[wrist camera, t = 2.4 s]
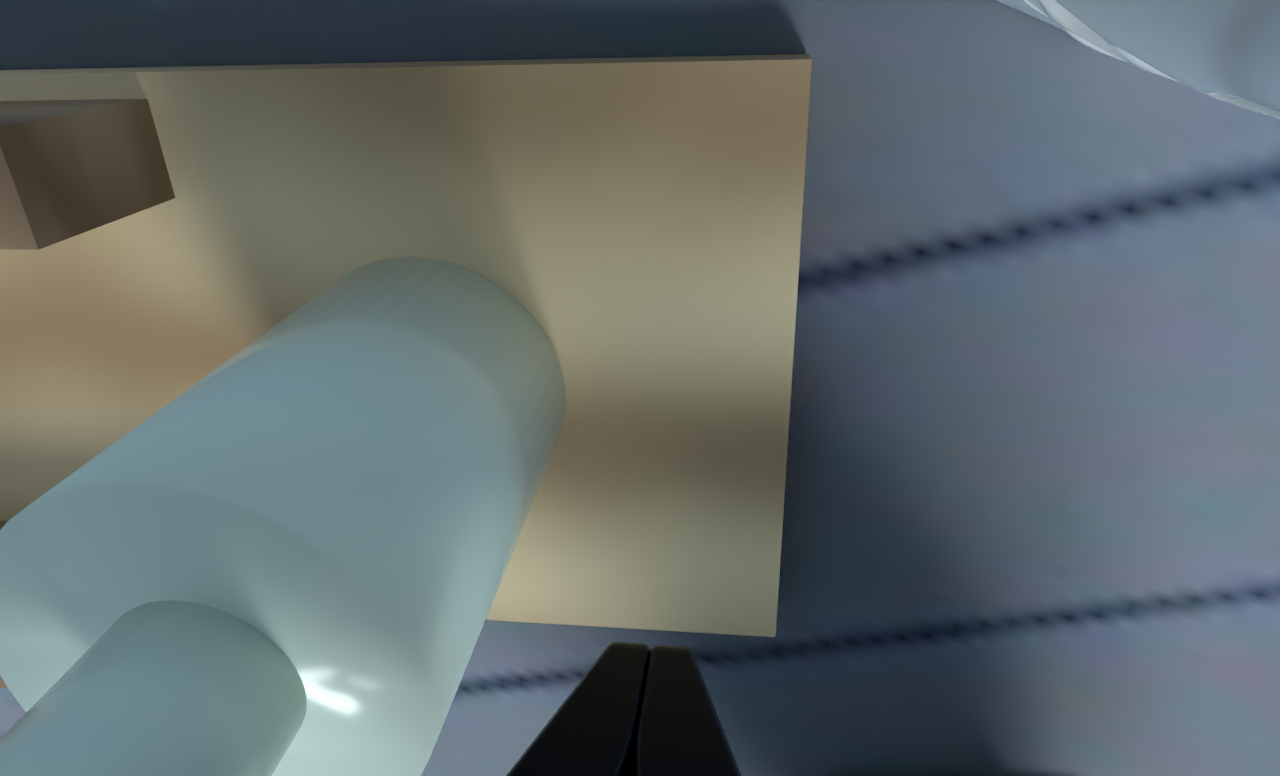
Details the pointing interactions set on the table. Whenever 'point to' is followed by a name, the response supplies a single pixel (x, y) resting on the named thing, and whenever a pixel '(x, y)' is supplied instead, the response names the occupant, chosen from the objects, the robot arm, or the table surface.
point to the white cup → (1182, 41)
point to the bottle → (287, 544)
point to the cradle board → (452, 232)
